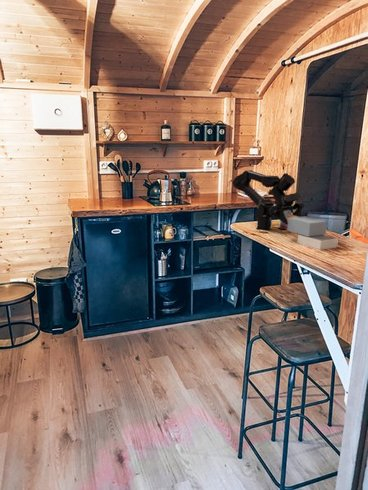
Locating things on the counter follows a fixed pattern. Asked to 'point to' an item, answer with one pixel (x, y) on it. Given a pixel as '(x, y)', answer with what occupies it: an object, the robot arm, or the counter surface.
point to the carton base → (318, 241)
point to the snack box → (286, 213)
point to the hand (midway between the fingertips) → (294, 223)
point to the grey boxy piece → (306, 225)
